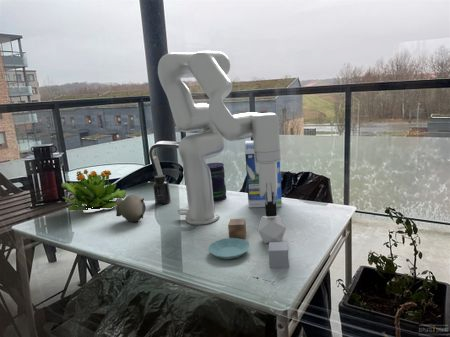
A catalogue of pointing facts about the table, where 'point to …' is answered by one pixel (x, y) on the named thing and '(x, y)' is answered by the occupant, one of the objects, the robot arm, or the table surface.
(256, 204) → the string lights box
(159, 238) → the table surface
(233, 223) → the walnut block
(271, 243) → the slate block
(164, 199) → the supplement bottle
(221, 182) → the storage jar
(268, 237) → the die
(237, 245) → the saucer
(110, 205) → the potted flower
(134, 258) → the table surface
